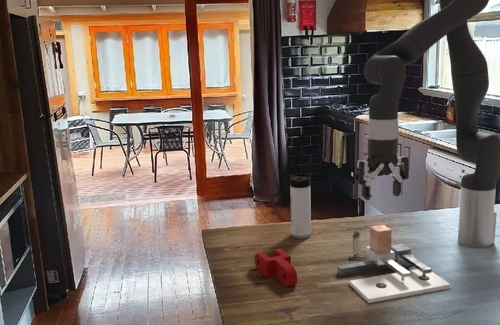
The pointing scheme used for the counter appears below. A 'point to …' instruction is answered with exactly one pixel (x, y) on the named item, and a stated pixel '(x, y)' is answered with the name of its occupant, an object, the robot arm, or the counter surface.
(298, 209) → the travel mug
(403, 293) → the bolt plate
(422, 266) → the gray bar frame
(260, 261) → the mechanical linkage
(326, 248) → the counter surface
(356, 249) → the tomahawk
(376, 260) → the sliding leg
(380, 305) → the counter surface
